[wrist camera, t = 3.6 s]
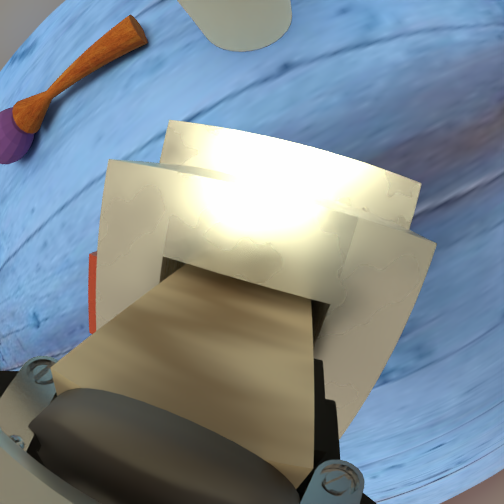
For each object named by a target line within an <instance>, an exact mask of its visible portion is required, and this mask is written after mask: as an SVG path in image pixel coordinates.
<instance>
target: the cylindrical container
mask: <svg viewBox="0 0 504 504" xmlns="http://www.w3.org/2000/svg"><path fill="white" fill-rule="evenodd" d="M177 1H178V2H179V3H180V4H181V6H182V7H183V8H184V9H185V11H186V12H187V13H188V14H189V16H190V17H191V18H192V19H193V21H194V22H195V23H196V25H197V26H198V27H199V29H200V30H201V31H202V32H203V34H204V35H205V36H206V38H207V39H208V40H209V41H210V42H211V43H213V44H214V45H215V46H217V47H220V48H222V49H225V50H230V51H239V52H244V51H253V50H257V49H261V48H263V47H266V46H268V45H270V44H272V43H274V42H276V41H277V40H278V39H279V38H281V37H282V36H283V35H284V34H285V32H286V31H287V30H288V28H289V26H290V24H291V20H292V11H291V1H290V0H177Z"/></svg>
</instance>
